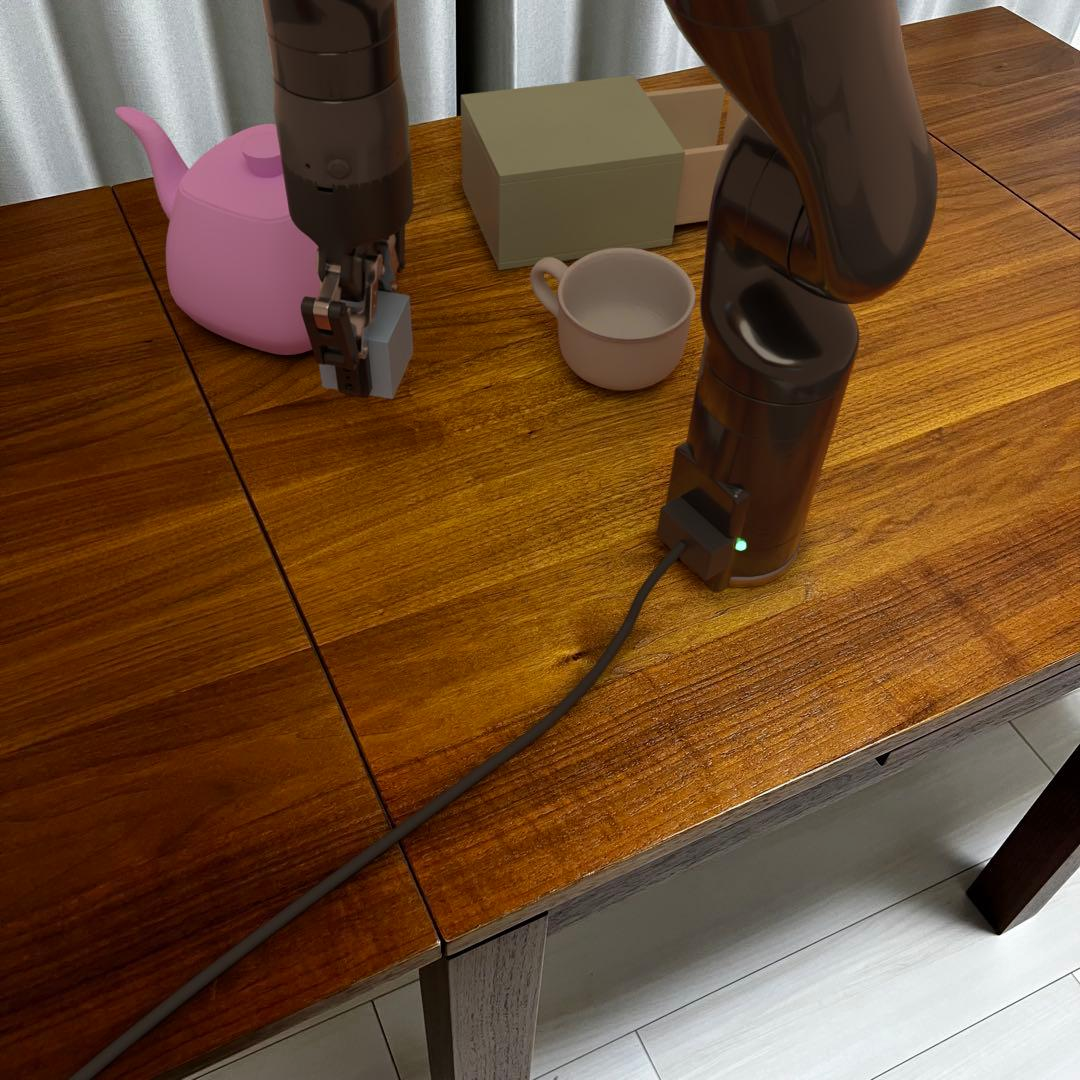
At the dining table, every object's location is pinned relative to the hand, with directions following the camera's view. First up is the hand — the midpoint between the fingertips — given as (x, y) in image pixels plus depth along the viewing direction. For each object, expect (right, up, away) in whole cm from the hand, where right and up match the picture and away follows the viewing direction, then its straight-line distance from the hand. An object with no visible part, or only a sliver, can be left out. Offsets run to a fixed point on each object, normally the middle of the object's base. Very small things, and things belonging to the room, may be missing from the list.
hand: (368, 365), depth 82 cm
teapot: (-11, +9, +21) cm, 25 cm away
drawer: (+27, +22, +33) cm, 48 cm away
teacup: (+17, +3, +18) cm, 25 cm away
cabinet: (+14, +19, +31) cm, 39 cm away
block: (0, 0, 0) cm, 0 cm away
